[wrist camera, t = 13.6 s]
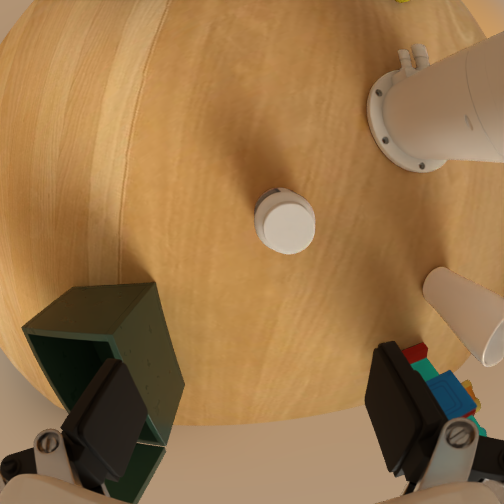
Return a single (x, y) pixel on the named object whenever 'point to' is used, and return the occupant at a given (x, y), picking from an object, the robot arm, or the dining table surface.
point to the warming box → (110, 348)
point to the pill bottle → (284, 220)
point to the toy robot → (445, 387)
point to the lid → (136, 474)
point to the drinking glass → (468, 313)
